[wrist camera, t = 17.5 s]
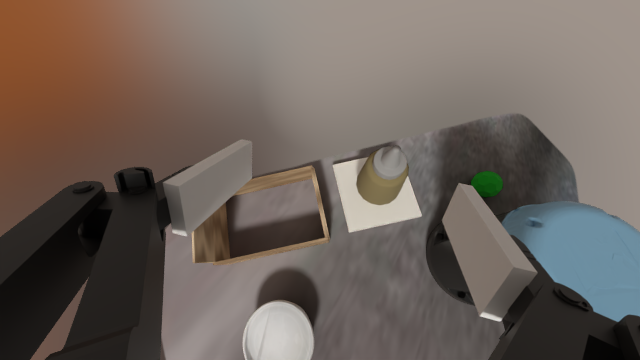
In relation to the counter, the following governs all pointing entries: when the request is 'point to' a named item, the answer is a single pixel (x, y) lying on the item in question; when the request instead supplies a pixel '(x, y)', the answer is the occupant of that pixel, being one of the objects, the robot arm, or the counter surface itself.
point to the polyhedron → (487, 183)
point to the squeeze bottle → (383, 175)
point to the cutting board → (366, 213)
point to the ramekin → (278, 333)
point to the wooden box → (213, 232)
